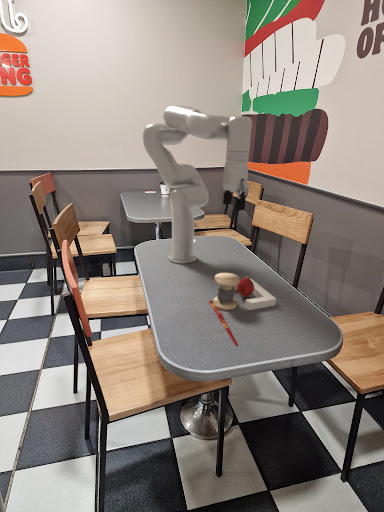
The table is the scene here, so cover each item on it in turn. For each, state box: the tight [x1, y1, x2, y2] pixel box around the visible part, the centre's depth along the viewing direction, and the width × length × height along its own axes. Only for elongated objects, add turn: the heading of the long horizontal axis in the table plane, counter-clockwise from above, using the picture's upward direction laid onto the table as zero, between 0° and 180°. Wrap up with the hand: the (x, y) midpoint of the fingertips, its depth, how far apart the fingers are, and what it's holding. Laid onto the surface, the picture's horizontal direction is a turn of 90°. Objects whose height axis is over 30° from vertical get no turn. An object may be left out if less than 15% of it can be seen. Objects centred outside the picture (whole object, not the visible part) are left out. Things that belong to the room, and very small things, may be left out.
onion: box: [236, 276, 254, 298], centre depth 108 cm, size 6×6×8 cm
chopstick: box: [208, 299, 239, 347], centre depth 95 cm, size 2×24×1 cm, turn 14°
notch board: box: [233, 278, 277, 311], centre depth 110 cm, size 16×10×2 cm, turn 20°
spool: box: [212, 272, 241, 311], centre depth 103 cm, size 8×8×10 cm
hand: (233, 207), depth 112 cm, fingers open, 9 cm apart
